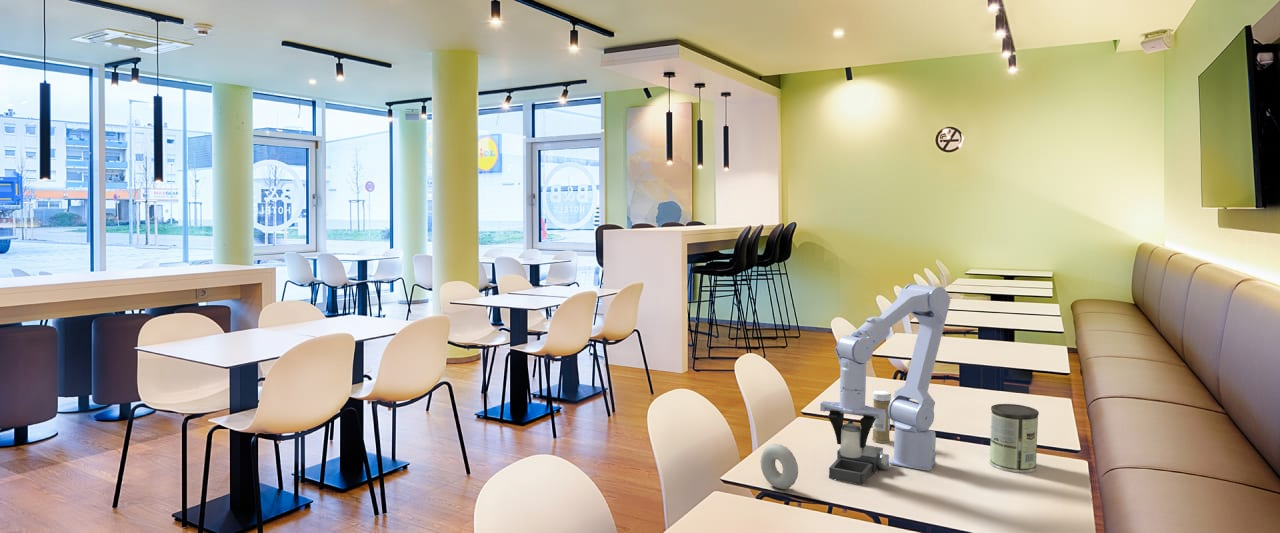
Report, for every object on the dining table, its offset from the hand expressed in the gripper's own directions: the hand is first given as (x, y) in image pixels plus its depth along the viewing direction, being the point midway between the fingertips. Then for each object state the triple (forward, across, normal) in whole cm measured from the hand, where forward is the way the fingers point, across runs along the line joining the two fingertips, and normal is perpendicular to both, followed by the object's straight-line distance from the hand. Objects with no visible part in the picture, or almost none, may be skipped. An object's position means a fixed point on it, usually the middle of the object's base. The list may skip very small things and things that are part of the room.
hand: (851, 444), depth 172 cm
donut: (+8, -12, -16) cm, 21 cm away
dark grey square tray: (+8, 0, 0) cm, 8 cm away
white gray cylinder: (+2, 0, 0) cm, 2 cm away
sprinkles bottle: (+8, 0, +30) cm, 31 cm away
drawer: (+8, 0, +8) cm, 11 cm away
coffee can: (+8, +32, +28) cm, 43 cm away
